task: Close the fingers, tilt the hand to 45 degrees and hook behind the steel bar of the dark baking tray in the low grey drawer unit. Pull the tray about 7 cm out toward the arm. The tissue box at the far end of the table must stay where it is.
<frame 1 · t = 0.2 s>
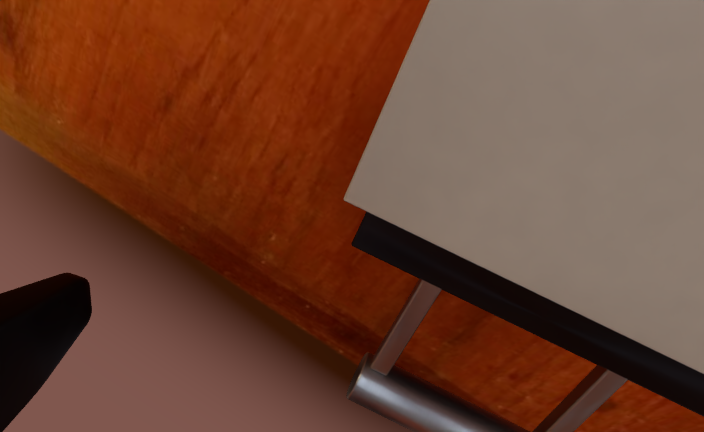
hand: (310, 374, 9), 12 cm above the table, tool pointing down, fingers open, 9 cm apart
grey drawer unit: (659, 10, 16), on the table
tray: (572, 208, 15), point 4 cm above the table, slide at 0.5 cm
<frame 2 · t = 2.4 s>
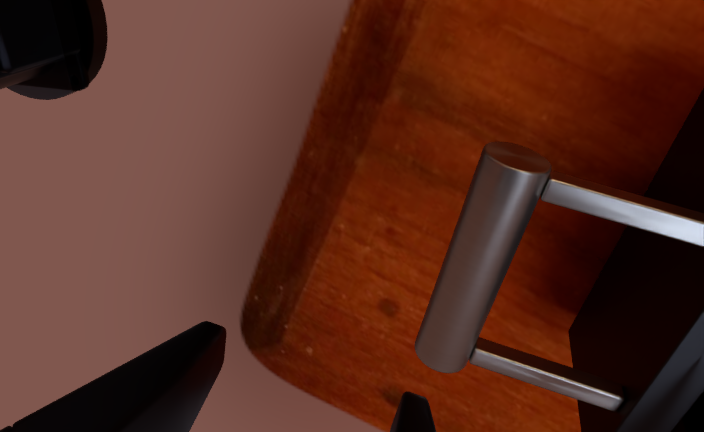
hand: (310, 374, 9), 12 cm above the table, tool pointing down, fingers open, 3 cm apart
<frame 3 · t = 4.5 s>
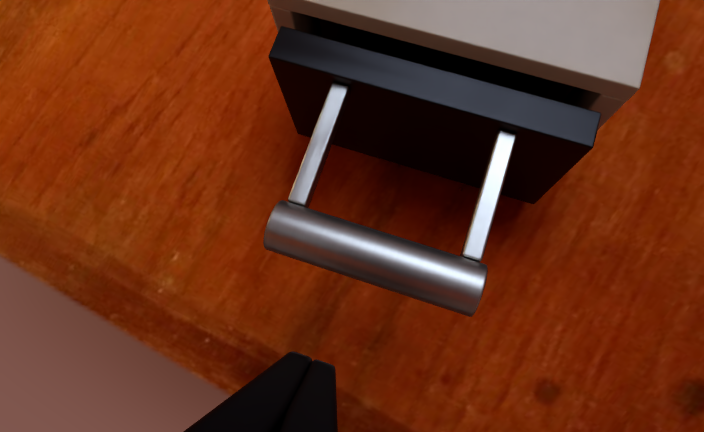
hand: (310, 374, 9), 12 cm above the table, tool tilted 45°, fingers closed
grey drawer unit: (458, 30, 25), on the table
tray: (435, 83, 20), point 4 cm above the table, slide at 0.5 cm
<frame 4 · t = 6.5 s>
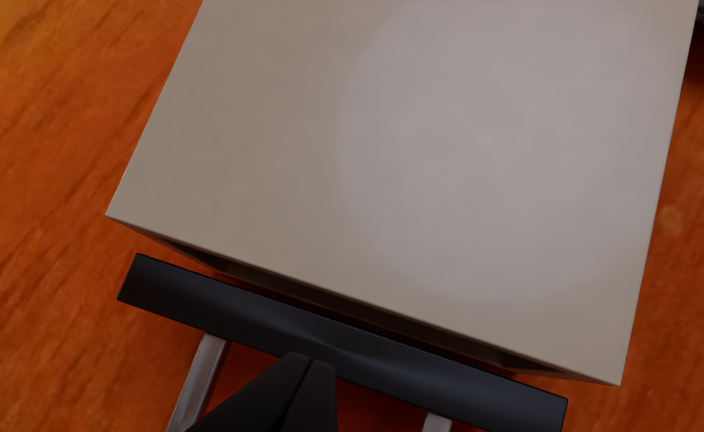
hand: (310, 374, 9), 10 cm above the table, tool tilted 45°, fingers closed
grey drawer unit: (406, 174, 20), on the table
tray: (361, 289, 15), point 4 cm above the table, slide at 0.5 cm
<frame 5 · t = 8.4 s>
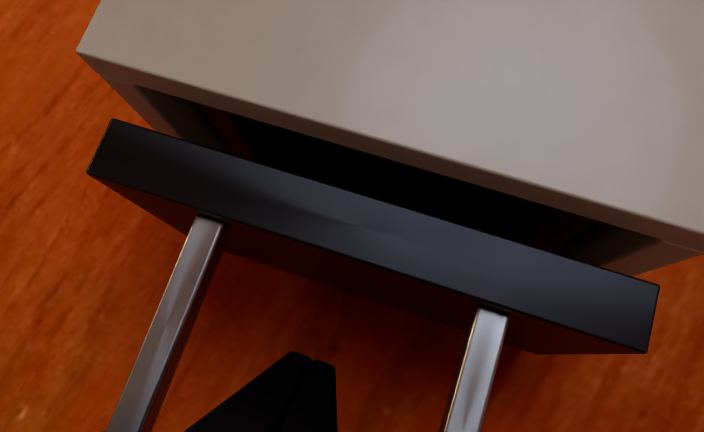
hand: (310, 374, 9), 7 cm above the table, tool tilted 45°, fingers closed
grey drawer unit: (431, 81, 18), on the table
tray: (385, 189, 13), point 4 cm above the table, slide at 0.7 cm, touching gripper
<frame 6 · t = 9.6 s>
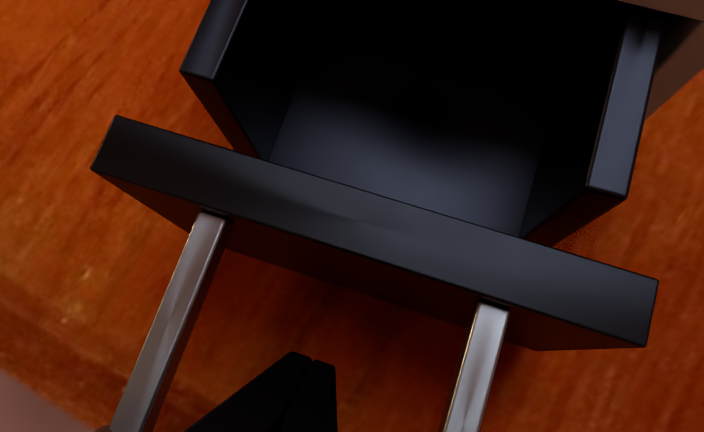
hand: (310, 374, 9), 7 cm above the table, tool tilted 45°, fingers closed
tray: (386, 186, 13), point 4 cm above the table, slide at 5.1 cm, touching gripper
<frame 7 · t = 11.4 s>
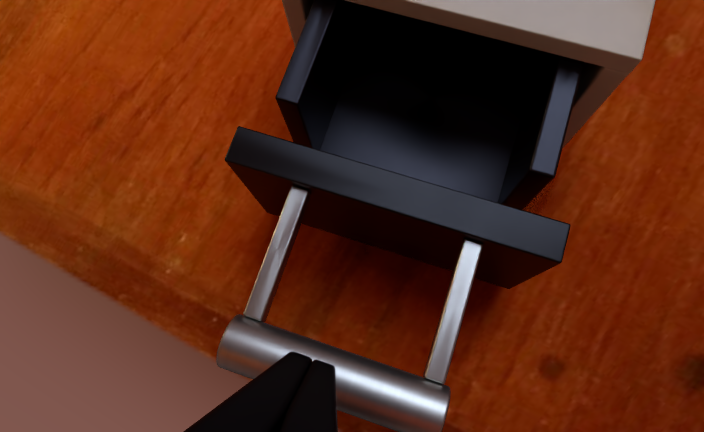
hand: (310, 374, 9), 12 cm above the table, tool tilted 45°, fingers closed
grey drawer unit: (461, 15, 25), on the table
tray: (404, 172, 19), point 4 cm above the table, slide at 5.1 cm
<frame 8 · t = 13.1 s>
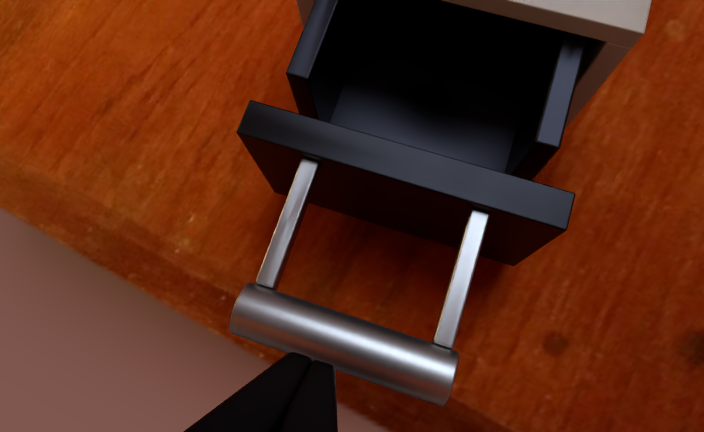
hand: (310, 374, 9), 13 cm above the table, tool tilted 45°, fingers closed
grey drawer unit: (464, 1, 26), on the table
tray: (411, 149, 20), point 4 cm above the table, slide at 5.1 cm
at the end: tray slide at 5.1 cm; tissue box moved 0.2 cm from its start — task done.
